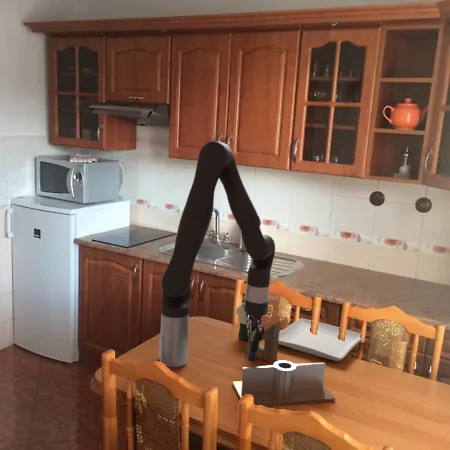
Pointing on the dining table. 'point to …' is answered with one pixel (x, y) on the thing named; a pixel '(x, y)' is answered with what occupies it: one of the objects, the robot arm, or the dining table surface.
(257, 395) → the hinge stand
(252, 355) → the hinge pin
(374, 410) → the dining table surface
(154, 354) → the dining table surface
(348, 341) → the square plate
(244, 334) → the character mug
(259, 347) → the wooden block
